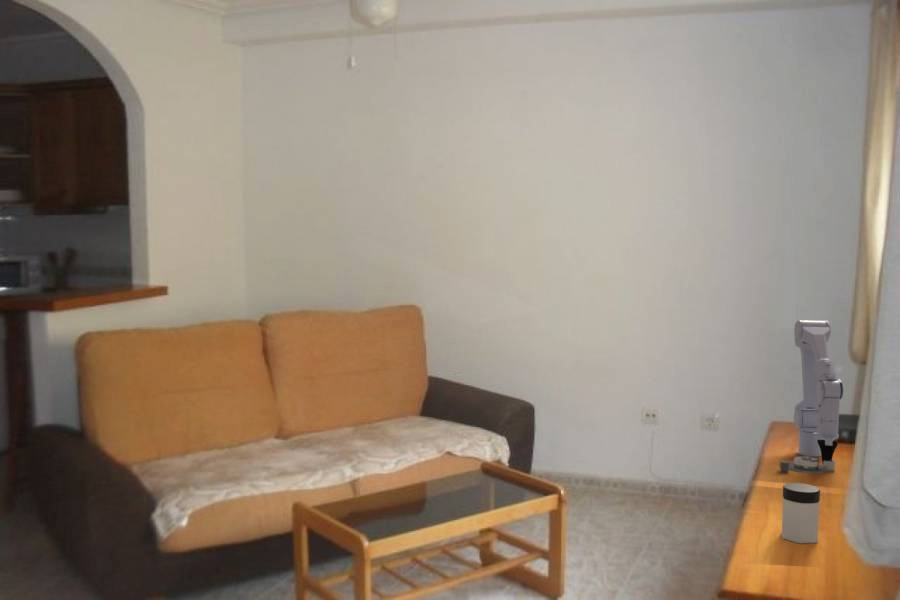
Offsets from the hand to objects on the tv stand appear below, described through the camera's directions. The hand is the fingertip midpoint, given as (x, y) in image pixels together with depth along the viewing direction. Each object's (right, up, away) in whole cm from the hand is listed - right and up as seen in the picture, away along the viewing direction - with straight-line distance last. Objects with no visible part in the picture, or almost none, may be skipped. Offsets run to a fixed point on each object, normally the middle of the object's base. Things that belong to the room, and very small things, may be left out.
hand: (826, 464), depth 276 cm
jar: (-32, -6, -62) cm, 70 cm away
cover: (-7, -1, -2) cm, 7 cm away
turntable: (-7, -2, -2) cm, 8 cm away
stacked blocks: (-15, -2, -7) cm, 17 cm away
